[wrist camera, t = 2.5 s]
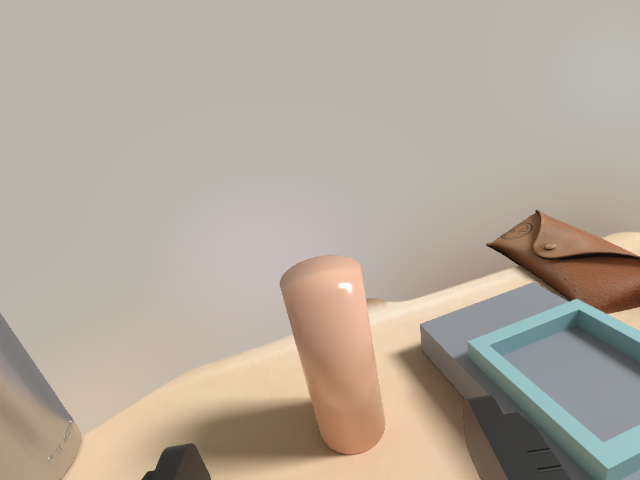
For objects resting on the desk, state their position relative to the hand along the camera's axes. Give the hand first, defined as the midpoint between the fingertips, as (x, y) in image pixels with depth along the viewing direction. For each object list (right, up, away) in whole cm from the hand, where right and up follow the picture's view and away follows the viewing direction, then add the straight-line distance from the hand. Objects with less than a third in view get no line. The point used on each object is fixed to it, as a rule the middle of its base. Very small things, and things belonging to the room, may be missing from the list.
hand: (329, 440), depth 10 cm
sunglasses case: (+27, +2, +29) cm, 40 cm away
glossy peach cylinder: (+2, -8, +16) cm, 18 cm away
